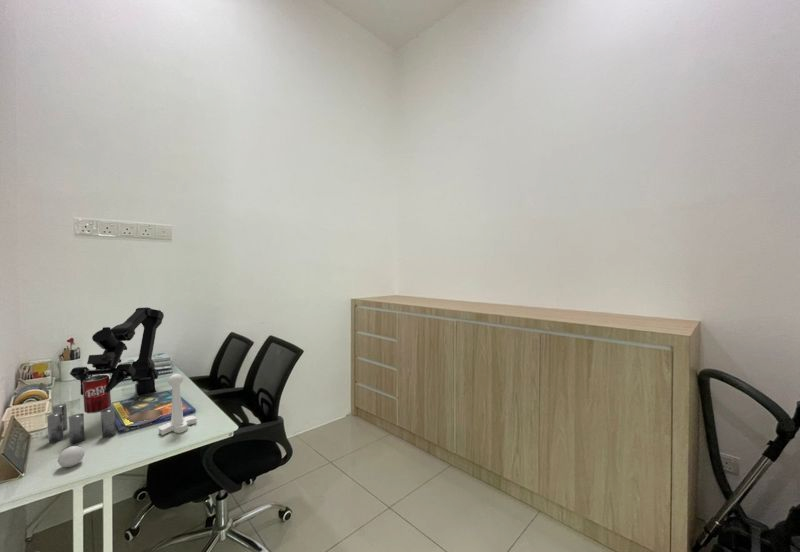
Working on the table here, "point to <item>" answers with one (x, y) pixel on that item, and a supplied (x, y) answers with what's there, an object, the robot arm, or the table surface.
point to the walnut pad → (145, 415)
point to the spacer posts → (76, 425)
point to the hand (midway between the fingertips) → (94, 393)
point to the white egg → (71, 456)
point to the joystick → (176, 409)
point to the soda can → (96, 394)
